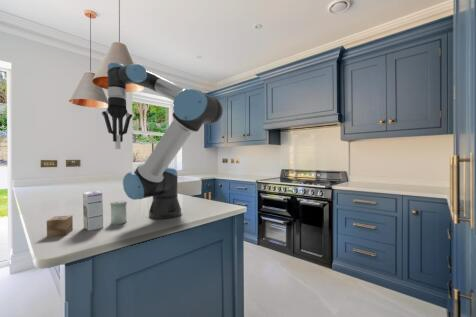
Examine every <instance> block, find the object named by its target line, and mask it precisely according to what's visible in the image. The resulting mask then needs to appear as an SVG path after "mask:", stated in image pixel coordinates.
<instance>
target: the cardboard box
mask: <svg viewBox="0 0 476 317" xmlns="http://www.w3.org/2000/svg"><path fill="white" fill-rule="evenodd" d="M73 219H74V218H73V215H59V216H53V217H51V218H49V219H47V220H46V238H52V237H53V236H54V237H63V236H65V237H66V236H68V235H69V234H70V233H71V232H73V230H74V226H73V222H74V221H73Z"/></svg>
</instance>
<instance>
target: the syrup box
mask: <svg viewBox="0 0 476 317" xmlns="http://www.w3.org/2000/svg"><path fill="white" fill-rule="evenodd" d="M82 207H83V210H82V212H83V217H82V218H83V229H85V230H86V231H93V230H95V231H96V230H99V229H103V228H104V204H103V192H101V191H99V190H98V191H97V190H95V191H92V190H91V191H86V192H83V193H82Z"/></svg>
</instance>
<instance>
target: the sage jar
mask: <svg viewBox="0 0 476 317" xmlns="http://www.w3.org/2000/svg"><path fill="white" fill-rule="evenodd" d="M127 204H128V201H126V200H118V201H117V200H115V201H112V202H110V204H109V206H110V218H111V219H110V224H111V225H121V224H125V223H127Z"/></svg>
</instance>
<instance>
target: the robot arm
mask: <svg viewBox="0 0 476 317" xmlns="http://www.w3.org/2000/svg"><path fill="white" fill-rule="evenodd" d="M106 74H107V97H108V99H107V108H106V110H105V111H102V112H101V115H102V116H103V118H104V121H105V125H106V129H107V133H108V134H112V142H114V143H115V145H114V146H115V150H121V149H122V148H121V143H123V141H124V140H123V136H124V135H126V134H127V133H128V130H129V125H130V121H131V119H132V117H133V114H130V113H129V112H128V109H127V99H126V98H127V85H130V84H131V85H132V84H133V85H137V86H140V87H143V88H146V89H149V90H151V91H153V92H156V93H157V94H159V95H161V96H164V97H166V98H167V99H169V100H171V101H173V102H172V104H173V106H172V111H173V112H172V121H171V123H170V125H169V126H168V127H167V129H166V131H164V133H163V135H162V136H161V138H160V139H159V141H158V142H157V144H156V145H155V147H154V149H153V150H152V151H151V153H150V154H149V156H148V157H147V159H146V160H145V162H142V163H140V164H138V166H137V167H136V168H135V170H134V171H129V172H128V173H126V174H125V175H124V177H123V180H122V187H123V191H124V192H125V195H126V196H127V197H128V198H129V199H131V200H142V199H147V198H150V197H152V201H151V204H150V208H149V211H148V217H149V218H152V219H156V220H157V219H158V220H159V219H161V220H162V219H171V218H175V217H179V216H181V215H182V207H181V205H180V201H179V199H178V171H177V169H176V168H174V167H173V168H171V167H169V166H170V164H171V163H172V161H173V160H174V158H175V157H176V156H177V155H178V154H179V152H180V150H181V149H182V148H183V146H185V145H184V144H185V143H186V142H187V141H188V139H190V138H189V137H190V136H191V135H192V134H193V133H197V132H199V130H200V129H201V128H202V126H203V125H214V124H216V123H217V122H219V121H220V120H221V118H222V116H223V113H224V109H223V105H222V103H221V101H220V100H219V99H218V98H216V97H214V96H212V95H210V94H207V93H205V92H203V91H201V90H199V89H194V88H185V87H183V86H181V85H178V84H176V83H174V82H172V81H170V80H168V79H166V78H164V77H162V76H161V75H159V74H155V73H152V72H151V71H149V70H147V69H146V67H144V66H143V65H142V64H141V63H131V64H128V65H124V64H122V63H119V62H110V63H108V64H107V72H106ZM109 116H110V117H111V119H112V120H111V121H112V122H111V121H110V117H109ZM124 117H126V118H125V122H124V123H123V121H124ZM117 121H118V123H117ZM111 123H112V125H111ZM117 124H118V125H117ZM117 126H118V127H117ZM117 130H118V131H117Z"/></svg>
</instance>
